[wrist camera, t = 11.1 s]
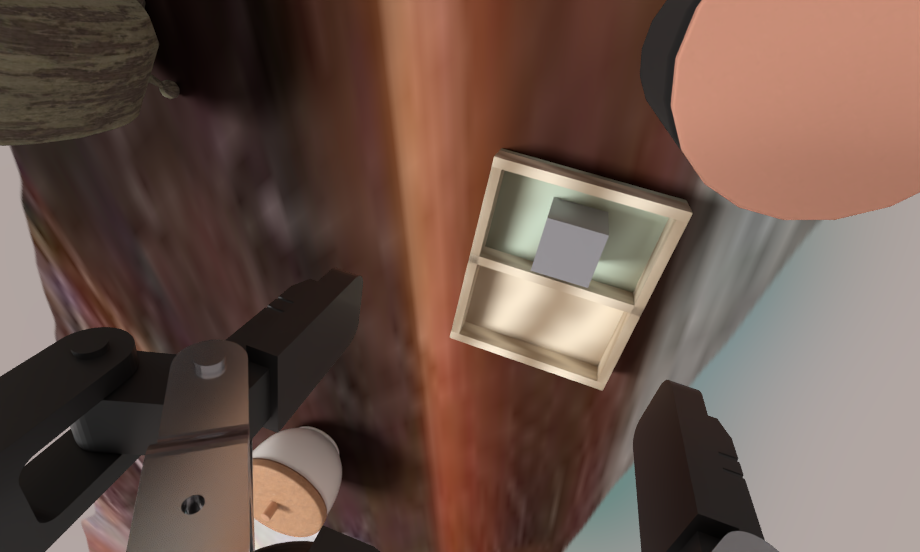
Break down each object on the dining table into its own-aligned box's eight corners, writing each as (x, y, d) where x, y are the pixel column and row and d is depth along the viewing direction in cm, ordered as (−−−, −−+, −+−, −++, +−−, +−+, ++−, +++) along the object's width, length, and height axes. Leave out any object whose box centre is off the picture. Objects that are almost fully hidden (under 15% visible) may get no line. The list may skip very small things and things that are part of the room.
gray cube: (538, 245, 39) (530, 270, 35) (553, 196, 37) (547, 217, 33) (589, 260, 39) (587, 288, 34) (608, 212, 36) (609, 235, 32)
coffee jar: (781, 143, 32) (947, 243, 16) (623, 127, 34) (639, 202, 19) (852, -41, 27) (1194, -148, 11) (660, -45, 29) (727, -139, 13)
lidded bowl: (372, 476, 62) (331, 554, 53) (303, 479, 67) (255, 551, 58) (330, 405, 58) (277, 477, 48) (259, 415, 63) (199, 481, 53)
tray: (458, 320, 46) (449, 337, 44) (501, 148, 37) (494, 156, 34) (602, 370, 44) (602, 390, 42) (686, 200, 35) (692, 213, 32)
